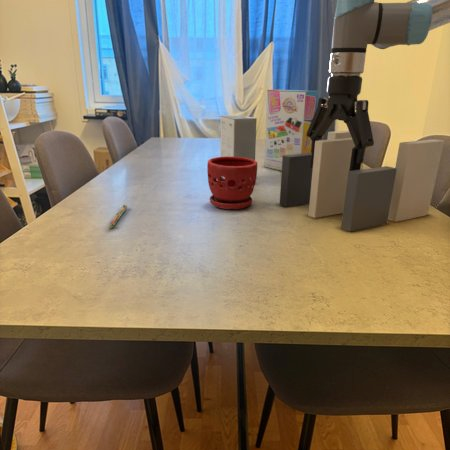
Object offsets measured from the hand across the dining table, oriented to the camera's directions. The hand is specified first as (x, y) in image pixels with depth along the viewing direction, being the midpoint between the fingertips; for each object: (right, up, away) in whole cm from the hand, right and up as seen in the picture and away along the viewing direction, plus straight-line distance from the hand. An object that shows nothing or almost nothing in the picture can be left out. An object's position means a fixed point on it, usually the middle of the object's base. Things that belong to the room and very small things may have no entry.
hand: (333, 172), depth 106 cm
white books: (+13, -6, +11) cm, 18 cm away
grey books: (0, -9, +5) cm, 10 cm away
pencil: (-53, -12, 0) cm, 55 cm away
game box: (-4, +17, +55) cm, 58 cm away
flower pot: (-25, -6, +11) cm, 28 cm away
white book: (0, -9, +5) cm, 10 cm away
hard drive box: (-23, +9, +40) cm, 47 cm away
